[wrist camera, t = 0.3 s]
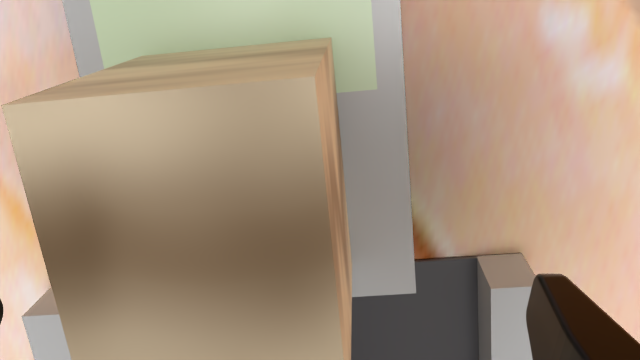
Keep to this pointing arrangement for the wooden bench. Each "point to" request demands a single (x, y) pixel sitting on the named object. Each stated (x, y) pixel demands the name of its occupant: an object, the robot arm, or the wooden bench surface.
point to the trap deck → (358, 164)
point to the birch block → (194, 205)
